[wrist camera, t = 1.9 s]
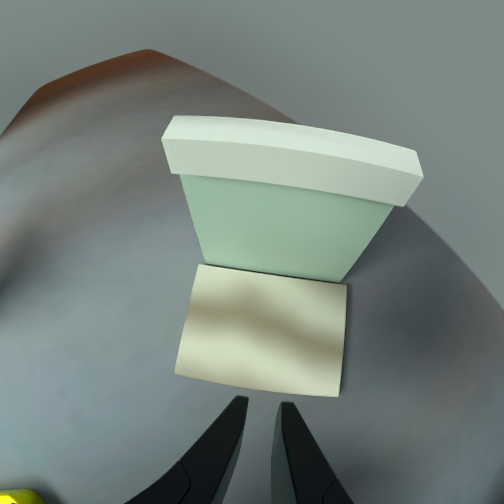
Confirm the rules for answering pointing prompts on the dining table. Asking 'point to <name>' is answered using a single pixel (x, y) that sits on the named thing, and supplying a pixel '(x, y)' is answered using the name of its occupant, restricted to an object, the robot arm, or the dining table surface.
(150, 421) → the dining table surface
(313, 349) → the plate
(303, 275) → the panel
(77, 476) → the dining table surface
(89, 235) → the dining table surface
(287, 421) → the robot arm
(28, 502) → the element tile
